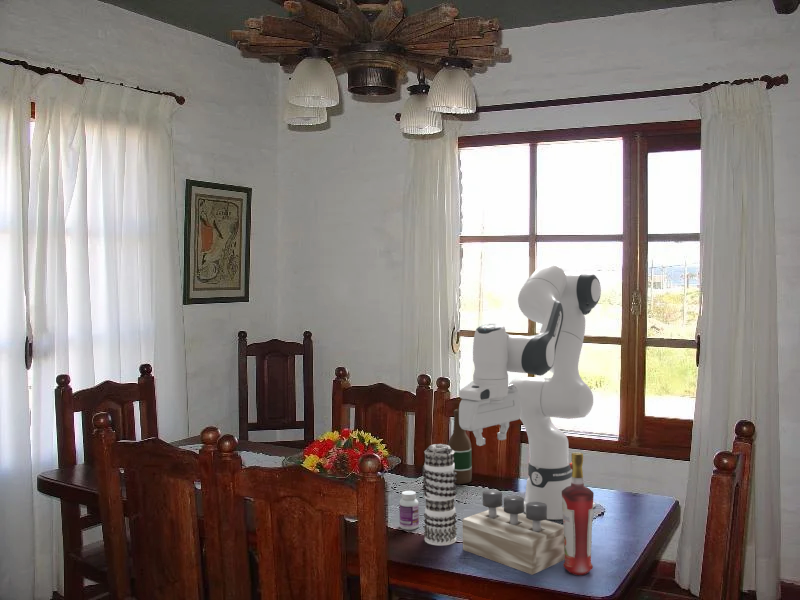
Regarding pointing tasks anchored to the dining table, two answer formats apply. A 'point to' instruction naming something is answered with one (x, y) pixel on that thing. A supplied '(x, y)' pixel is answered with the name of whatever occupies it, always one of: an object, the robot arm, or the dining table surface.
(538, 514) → the knob
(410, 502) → the pill bottle
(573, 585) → the dining table surface
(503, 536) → the console
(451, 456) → the decorative candle
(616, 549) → the dining table surface
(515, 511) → the knob
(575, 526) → the liquor
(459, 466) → the beer bottle
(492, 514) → the knob
